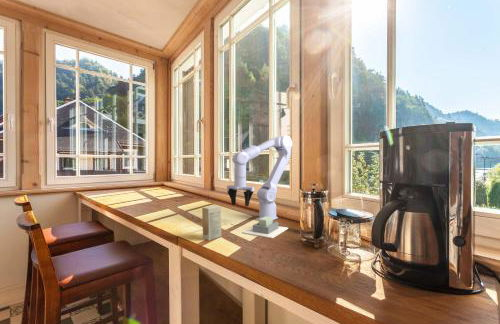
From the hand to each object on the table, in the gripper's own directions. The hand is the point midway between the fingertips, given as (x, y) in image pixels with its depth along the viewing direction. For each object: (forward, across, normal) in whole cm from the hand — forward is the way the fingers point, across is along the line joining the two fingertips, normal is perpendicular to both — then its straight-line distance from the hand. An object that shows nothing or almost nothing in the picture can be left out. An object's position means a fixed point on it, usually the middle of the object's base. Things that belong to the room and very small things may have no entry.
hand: (240, 205), depth 122 cm
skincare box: (+9, +3, -25) cm, 27 cm away
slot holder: (+8, +17, -6) cm, 20 cm away
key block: (+8, +17, -6) cm, 20 cm away
